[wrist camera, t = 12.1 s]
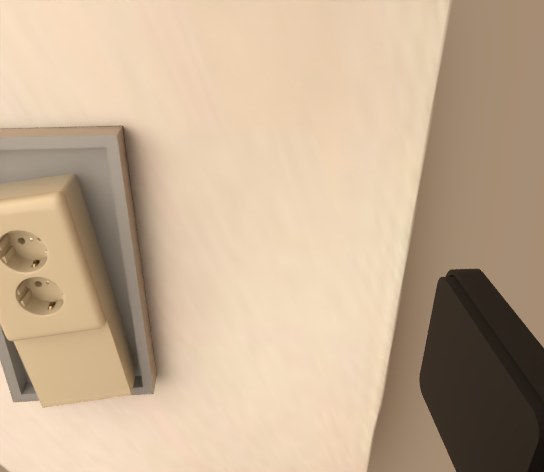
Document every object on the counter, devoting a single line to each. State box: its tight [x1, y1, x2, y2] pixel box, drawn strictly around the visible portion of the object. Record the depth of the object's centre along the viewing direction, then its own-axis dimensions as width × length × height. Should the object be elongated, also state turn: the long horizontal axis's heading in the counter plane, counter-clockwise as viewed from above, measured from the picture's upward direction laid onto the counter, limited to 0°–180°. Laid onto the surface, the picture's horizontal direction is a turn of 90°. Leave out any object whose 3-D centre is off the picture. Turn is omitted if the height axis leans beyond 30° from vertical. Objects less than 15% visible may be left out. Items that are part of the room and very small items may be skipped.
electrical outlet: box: [0, 174, 137, 408], centre depth 39 cm, size 7×4×18 cm
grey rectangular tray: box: [0, 126, 157, 402], centre depth 40 cm, size 23×12×2 cm, turn 0°
